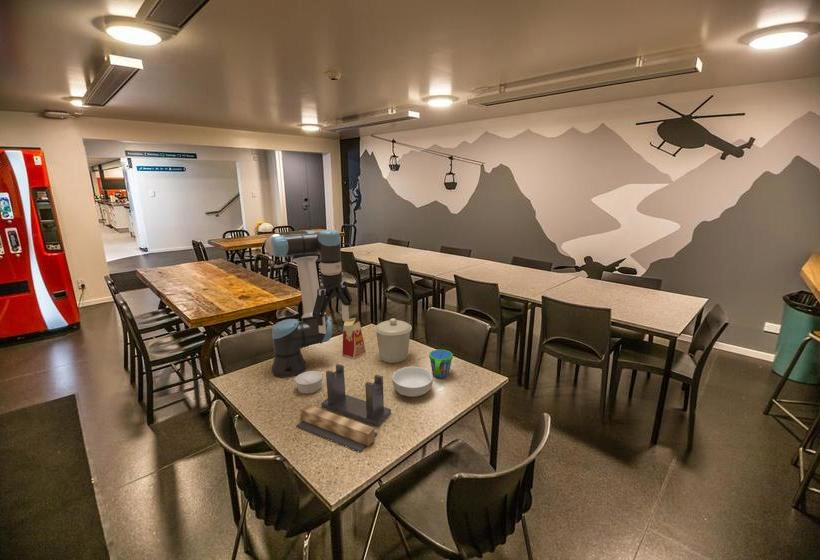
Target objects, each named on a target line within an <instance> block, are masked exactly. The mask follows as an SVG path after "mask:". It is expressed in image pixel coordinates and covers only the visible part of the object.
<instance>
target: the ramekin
mask: <svg viewBox="0 0 820 560" xmlns="http://www.w3.org/2000/svg"><path fill="white" fill-rule="evenodd" d="M294 382H295V384H296V387H297V390H298V392H299V393H301V394H304V393H305V394H304V395H309V393H310V394H313V393H317V392H318V391H319V390H320V389H321V388H322V383H323V374H322V373H321V372H320V371H318V370H317V371H316V370H309V371H303V372H302V373H300V374H298V375H296V377H295V378H294Z"/></svg>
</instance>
